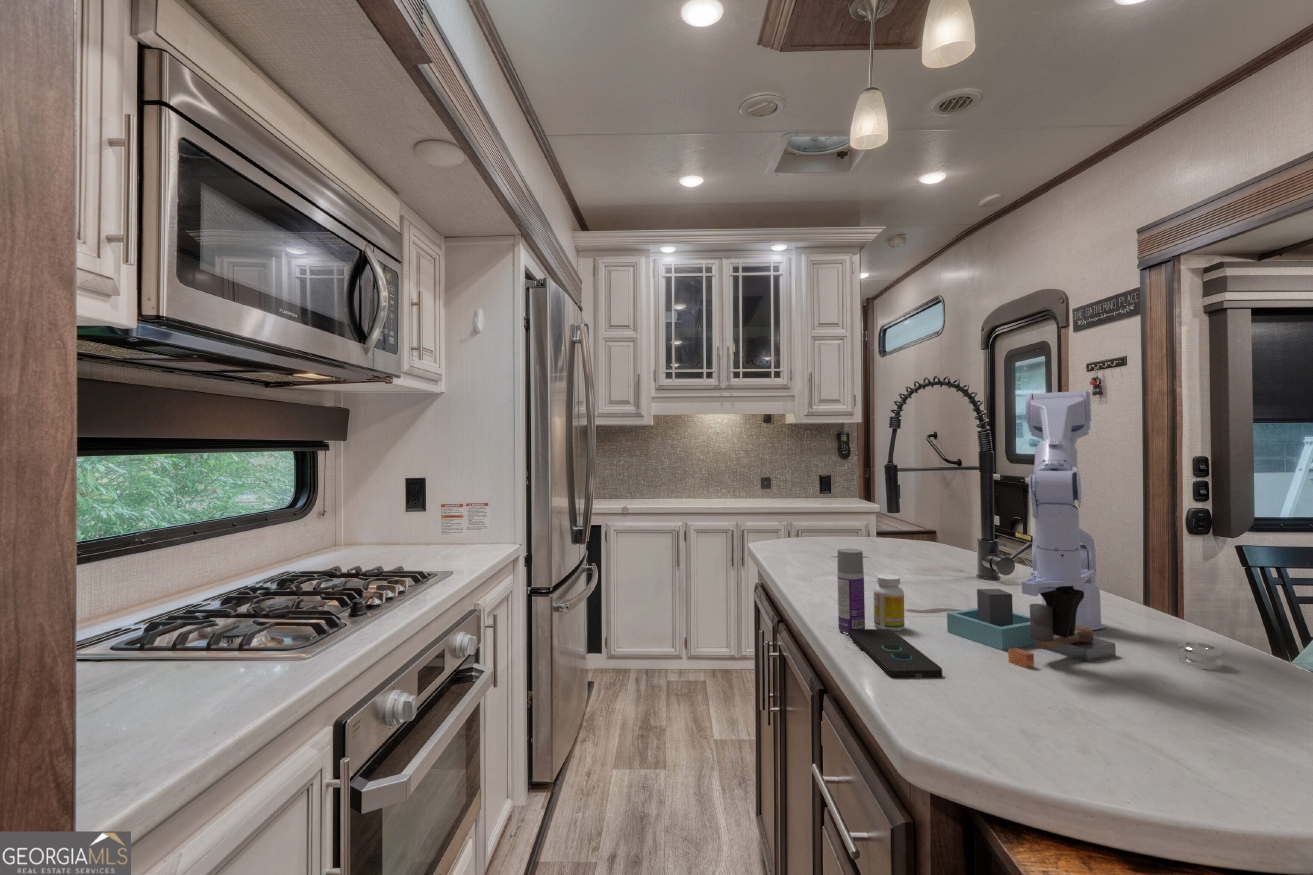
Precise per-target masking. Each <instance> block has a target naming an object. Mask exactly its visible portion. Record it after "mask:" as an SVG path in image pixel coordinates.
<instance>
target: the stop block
mask: <svg viewBox="0 0 1313 875" xmlns="http://www.w3.org/2000/svg"><path fill="white" fill-rule="evenodd" d="M976 595H977V596H976V598H977V599H976V600H977V603H976V604H977V608H978V620H979V621H982V622H986V623H989V624H992V625H996V626H999V627H1003V626H1009V625H1013V612H1014V611H1013V610H1014V609H1013V593H1010V592H1008V591H1005V590H1003V589H1001V588H977V589H976Z"/></svg>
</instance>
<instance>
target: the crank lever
mask: <svg viewBox="0 0 1313 875" xmlns="http://www.w3.org/2000/svg"><path fill="white" fill-rule="evenodd" d="M1029 617H1030V630H1031V638H1032V639H1035V640H1036V644H1035V647H1038V648H1042V649H1043V648H1044V649H1043V650H1047V649H1048V650H1047V651H1050V650H1051V649H1054V648H1058V647H1061V646H1064V645H1068V644H1071V643H1075V642H1078V641H1081V642H1091V641H1093V637H1094V630H1092V629H1090V628H1087V627H1083V626H1077V625H1075V633H1074V636H1068V637H1067V638H1064V637H1061V636H1057V635H1054V634H1053V607H1051V606H1047V605H1044V604H1042V603H1030V604H1029Z"/></svg>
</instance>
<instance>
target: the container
mask: <svg viewBox="0 0 1313 875" xmlns="http://www.w3.org/2000/svg"><path fill="white" fill-rule="evenodd" d="M864 574H865V573H864V555H863V550H862V549H858V548H839V549H837V606H838V607H837V608H838V609H837V611H838V612H837V613H838V631H839V630H840V631H842V632H845V633H848V630H855V629H866V618H865V617H866V614H865V610H866V608H865V607H866V606H865V575H864ZM840 631H839V632H840Z"/></svg>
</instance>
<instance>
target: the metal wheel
mask: <svg viewBox="0 0 1313 875" xmlns="http://www.w3.org/2000/svg"><path fill="white" fill-rule="evenodd" d="M1177 648H1178V651H1179V652H1181V653H1180V654H1178V662H1179V661H1180V662H1181V663H1183V664H1186V665H1188V666H1187V667H1189V666H1193V667H1196V668H1200V669H1199V670H1202V669H1208V670H1207V671H1209V670H1221V671H1223V670H1224V662H1223V661H1222V660H1220V659H1221V658H1223V657H1224V653H1223V651H1222V649H1221V648H1219V647H1218V646H1215V645H1212V644H1208V643H1203V642H1196V641H1183V642H1180V643H1179V644H1178V647H1177ZM1219 658H1220V659H1219ZM1180 662H1179V663H1180ZM1181 663H1180V664H1181ZM1183 664H1182V665H1183ZM1186 665H1185V666H1186ZM1196 668H1195V669H1196ZM1222 669H1223V670H1222Z"/></svg>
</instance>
